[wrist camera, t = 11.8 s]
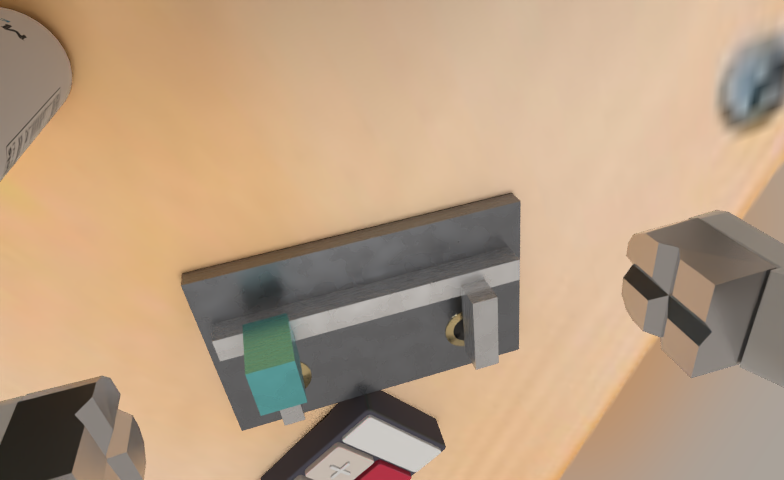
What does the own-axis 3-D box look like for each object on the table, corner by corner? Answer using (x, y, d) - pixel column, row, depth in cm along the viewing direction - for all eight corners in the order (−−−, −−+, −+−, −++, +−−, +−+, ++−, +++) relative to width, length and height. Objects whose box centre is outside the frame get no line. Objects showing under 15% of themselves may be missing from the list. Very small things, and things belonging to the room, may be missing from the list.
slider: (284, 297, 41) (294, 360, 35) (308, 380, 45) (321, 447, 40) (241, 308, 40) (245, 374, 34) (270, 391, 45) (278, 461, 39)
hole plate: (511, 192, 44) (548, 228, 39) (511, 338, 52) (541, 382, 47) (182, 273, 39) (177, 324, 35) (241, 417, 48) (243, 474, 43)
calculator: (259, 511, 50) (370, 415, 47) (258, 470, 54) (361, 378, 50) (345, 537, 56) (450, 454, 52) (339, 499, 60) (437, 418, 56)
